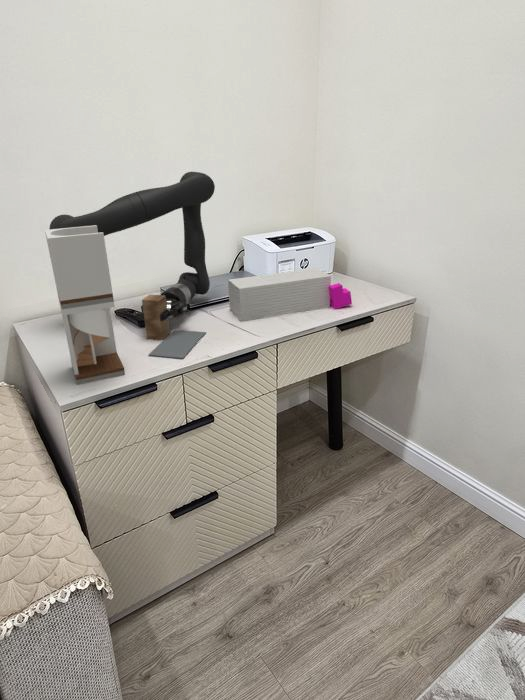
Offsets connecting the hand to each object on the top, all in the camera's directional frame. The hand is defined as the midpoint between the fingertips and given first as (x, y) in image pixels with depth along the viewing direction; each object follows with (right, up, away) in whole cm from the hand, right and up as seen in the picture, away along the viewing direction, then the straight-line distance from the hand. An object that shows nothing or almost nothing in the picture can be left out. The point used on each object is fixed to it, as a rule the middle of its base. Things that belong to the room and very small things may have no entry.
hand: (152, 317), depth 138 cm
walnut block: (+1, -5, +5) cm, 7 cm away
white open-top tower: (-10, -15, -14) cm, 23 cm away
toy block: (+56, +8, +31) cm, 65 cm away
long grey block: (+37, +4, +25) cm, 45 cm away
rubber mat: (+8, -8, 0) cm, 11 cm away
